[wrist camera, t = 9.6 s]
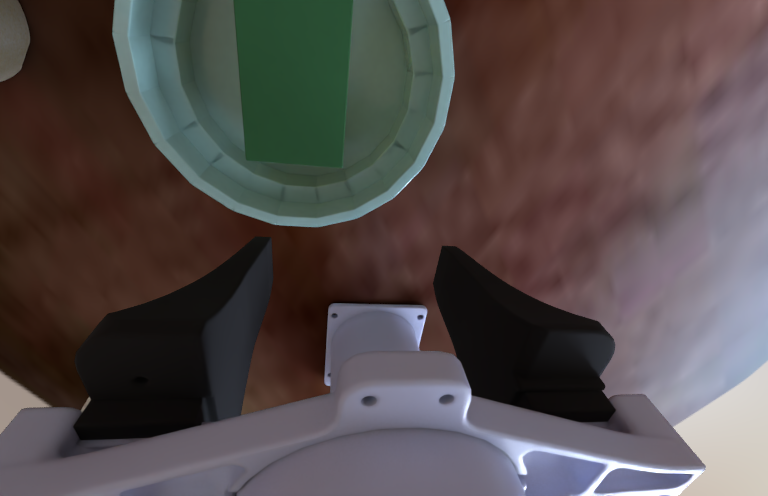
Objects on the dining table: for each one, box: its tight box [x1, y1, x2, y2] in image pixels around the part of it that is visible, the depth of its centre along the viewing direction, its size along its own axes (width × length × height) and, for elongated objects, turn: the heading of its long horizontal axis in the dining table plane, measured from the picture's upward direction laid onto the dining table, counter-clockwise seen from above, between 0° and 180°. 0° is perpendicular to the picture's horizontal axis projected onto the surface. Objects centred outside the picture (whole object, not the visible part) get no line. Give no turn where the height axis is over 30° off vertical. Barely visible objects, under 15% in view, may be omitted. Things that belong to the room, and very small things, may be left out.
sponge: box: [233, 0, 353, 168], centre depth 17 cm, size 7×4×4 cm, turn 173°
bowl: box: [112, 0, 455, 227], centre depth 17 cm, size 14×14×4 cm
